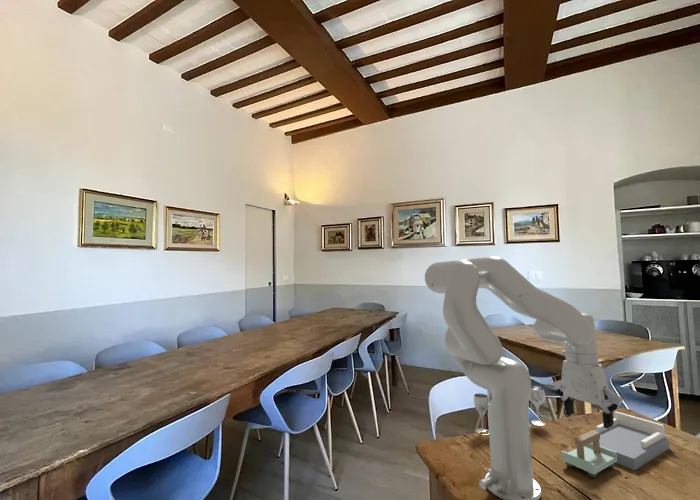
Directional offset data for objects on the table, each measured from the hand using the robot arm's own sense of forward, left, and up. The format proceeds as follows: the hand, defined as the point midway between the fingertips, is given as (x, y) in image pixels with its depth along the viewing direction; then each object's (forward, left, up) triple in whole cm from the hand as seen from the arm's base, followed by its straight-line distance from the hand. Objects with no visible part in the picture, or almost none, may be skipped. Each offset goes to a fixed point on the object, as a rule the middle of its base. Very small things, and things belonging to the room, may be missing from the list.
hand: (588, 420), depth 94 cm
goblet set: (+3, +27, -13) cm, 30 cm away
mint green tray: (-1, 0, -12) cm, 12 cm away
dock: (+18, 0, -12) cm, 22 cm away
